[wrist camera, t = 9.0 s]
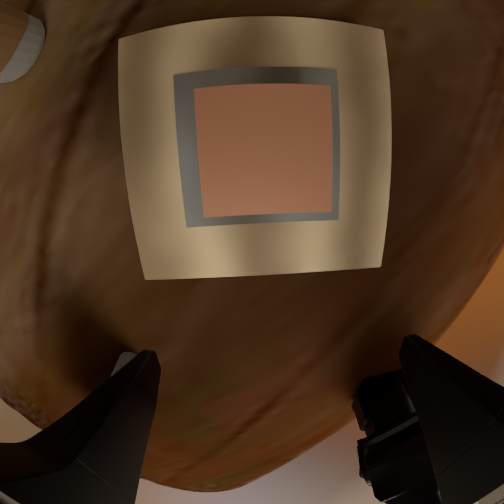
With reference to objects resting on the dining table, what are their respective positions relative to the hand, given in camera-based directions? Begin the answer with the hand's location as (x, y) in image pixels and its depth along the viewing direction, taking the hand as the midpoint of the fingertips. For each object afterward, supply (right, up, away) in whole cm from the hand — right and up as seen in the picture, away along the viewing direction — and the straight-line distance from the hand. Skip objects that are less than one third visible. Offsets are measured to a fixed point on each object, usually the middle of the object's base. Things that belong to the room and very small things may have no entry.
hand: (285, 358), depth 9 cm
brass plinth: (-1, +11, +8) cm, 14 cm away
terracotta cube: (-1, +9, +5) cm, 11 cm away
